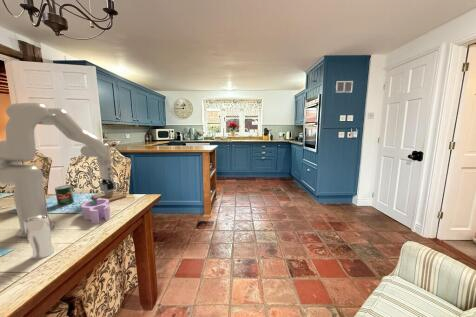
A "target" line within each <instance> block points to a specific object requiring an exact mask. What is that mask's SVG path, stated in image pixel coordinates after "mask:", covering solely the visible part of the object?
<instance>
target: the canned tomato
mask: <svg viewBox="0 0 476 317" xmlns="http://www.w3.org/2000/svg"><path fill="white" fill-rule="evenodd" d="M54 191H55V193H54V194H55V198H56V203H57V207H65V206H69V205H72V204H73V203H75V201H74V200H75V199H74V195H73V188H72V185H70V184H65V185H58V186H57V187H54Z"/></svg>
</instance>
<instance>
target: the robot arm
mask: <svg viewBox="0 0 476 317" xmlns="http://www.w3.org/2000/svg"><path fill="white" fill-rule="evenodd" d="M5 112H6V116H7V117H8V120H7V121H6V123H5V124H6V125H5V140H2V141H0V184H1V185H5V186H14V190H13V193H12V194H13V196H12V197H13V201H14V204H15V210H16V213H17V218H18V222H19V228H20V229H18V231H17V232H16V236H17V237H18V238H27V236H26V233H25V228H24V220H25V219H27V218H29V217H32V216H35V215H40V214H48V210H47V206H46V204H47V202H46V203H45V199H46V197H45V198H44V193H45V192H44V193H43V187H44V182H43V181H44V174H43V172H42V170H41V168H39V167H37V165H36V166H35V165H32V164H21V162H22V163H23V162H24V163H25V162H30V161H32V160H33V159H35V157H36V156H37V153H36V152H37V151H36V150H37V149H36V141H35V128H36V126H37V125H46V126H54V127H55V128H56V129H58V130H59V131H60V132H61V133H62V134H63V135H64V137H65V138H67V139H69V140H70V141H71V140H72V141H73V142H76V143H80V144H83V146H81V148H80V154H81V155H82V156H83V157H87V158H96V160H97V162H96V163H97V166H98V169H99V177H100V179H101V183H103V182H108V184H107V185H108V190H111V189H114V187H113V182H114V179H115V175H114V168H113V166H112V159H111V158H112V157H111V150H110V145H109V144H108V143H103V141H102V140H100V138H98V137H97V136H96V135H94V134H92V133H90V132H88V131H86V130H85V129H83V128H82V127H81V126H80V125H79V124H78V123H77V121H76V120H75V119H74V118H73V117H72V116H71V115H70V114H69V113H68V112H67V111H66V110H65V109H64V108H63V109H62V108H59V107H55V108H54V107H53V108H50V107H49V108H47V106H46V105H45V104H42V103H40V102H39V103H38V102H21V103H20V102H18V103H12V104H10V105H9V104H8V106H7V107H6V109H5ZM42 183H43V185H42ZM48 215H49V214H48ZM50 223H51V228H54V227H55V223H54V222H53V221H50Z"/></svg>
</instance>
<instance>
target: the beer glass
mask: <svg viewBox="0 0 476 317" xmlns="http://www.w3.org/2000/svg"><path fill="white" fill-rule="evenodd" d="M50 222H51V220H50V216H49V214H40V215H35V216H32V217H29V218H27V219H25V220H24V228H25V233H26V236H27V237H26V239H27V240H28V242H29V245H30V246H31V249H32V259H34V260H40V259H44V258H46V257H48V256H51V255H52V254H53V253H55V247H54V246H53V244H52V233H53V232H52V228H51V223H50Z"/></svg>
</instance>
